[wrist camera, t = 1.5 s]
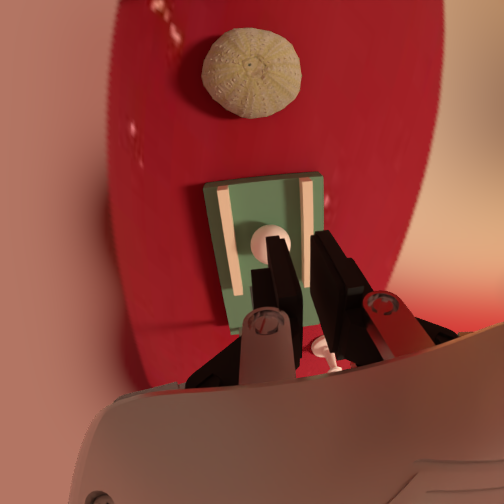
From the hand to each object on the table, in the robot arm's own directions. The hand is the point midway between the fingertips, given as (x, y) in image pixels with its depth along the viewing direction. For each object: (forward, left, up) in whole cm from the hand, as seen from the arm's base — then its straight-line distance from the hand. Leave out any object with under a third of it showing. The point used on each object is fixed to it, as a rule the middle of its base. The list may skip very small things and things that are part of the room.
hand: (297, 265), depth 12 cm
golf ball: (+7, 0, -15) cm, 17 cm away
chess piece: (+28, +8, -19) cm, 35 cm away
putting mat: (+11, 0, -19) cm, 22 cm away
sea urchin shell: (-10, 0, -20) cm, 22 cm away
